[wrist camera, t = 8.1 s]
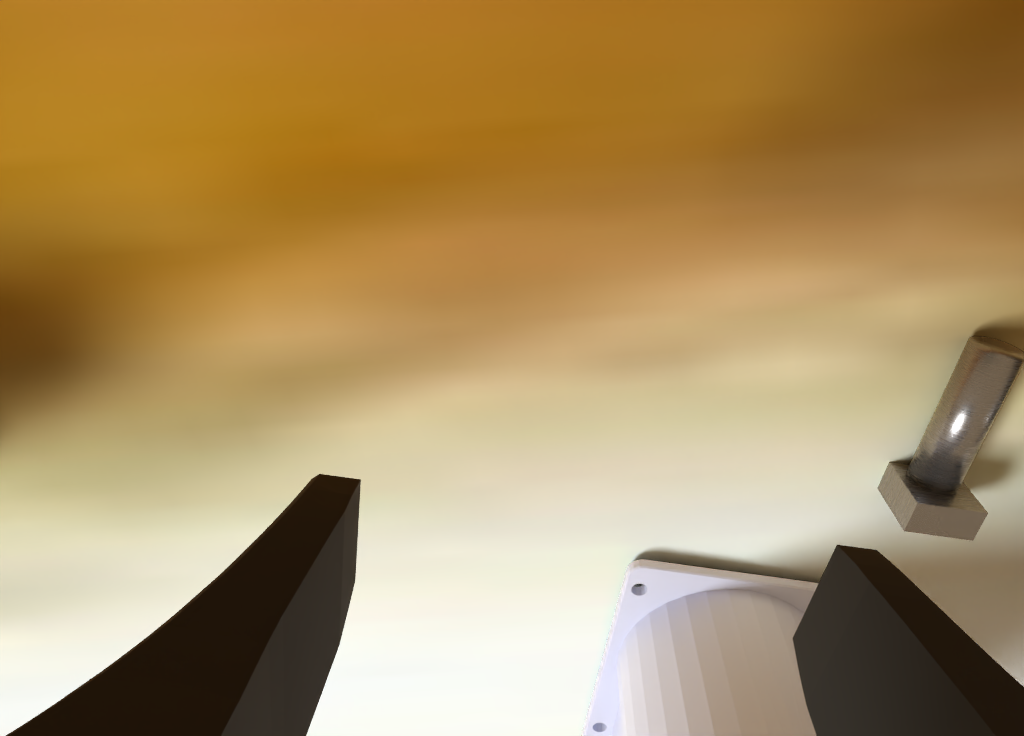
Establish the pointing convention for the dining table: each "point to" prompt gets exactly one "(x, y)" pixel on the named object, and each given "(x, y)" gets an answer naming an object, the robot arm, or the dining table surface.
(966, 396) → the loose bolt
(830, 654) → the robot arm
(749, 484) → the dining table surface
